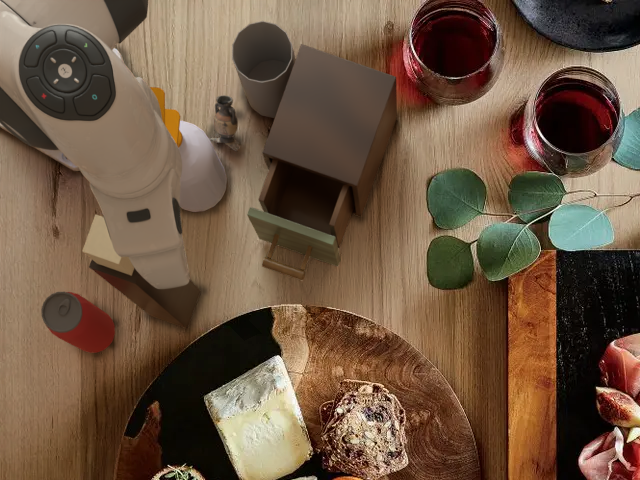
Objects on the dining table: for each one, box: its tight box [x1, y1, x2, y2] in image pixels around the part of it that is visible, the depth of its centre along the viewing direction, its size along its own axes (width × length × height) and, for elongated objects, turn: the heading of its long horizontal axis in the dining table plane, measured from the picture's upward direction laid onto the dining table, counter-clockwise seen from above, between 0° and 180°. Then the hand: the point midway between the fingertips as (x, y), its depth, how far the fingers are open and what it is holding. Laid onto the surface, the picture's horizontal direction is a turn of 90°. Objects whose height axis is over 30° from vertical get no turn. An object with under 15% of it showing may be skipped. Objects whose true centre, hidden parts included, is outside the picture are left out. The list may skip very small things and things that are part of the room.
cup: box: [231, 20, 296, 119], centre depth 117 cm, size 8×8×10 cm
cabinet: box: [262, 43, 398, 218], centre depth 116 cm, size 16×14×12 cm
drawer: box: [246, 159, 355, 281], centre depth 116 cm, size 19×12×10 cm, turn 160°
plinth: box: [88, 259, 202, 330], centre depth 110 cm, size 6×6×24 cm
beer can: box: [40, 291, 116, 354], centre depth 116 cm, size 7×7×12 cm
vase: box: [209, 94, 250, 153], centre depth 119 cm, size 5×5×6 cm
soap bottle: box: [149, 86, 228, 213], centre depth 110 cm, size 9×9×25 cm
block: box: [82, 214, 134, 276], centre depth 96 cm, size 4×4×4 cm
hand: (171, 212), depth 92 cm, fingers closed
